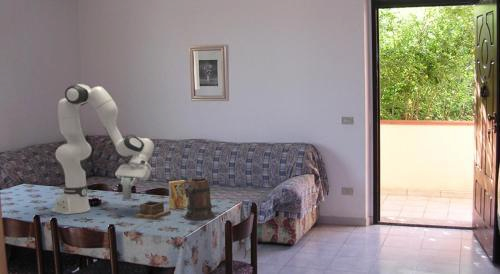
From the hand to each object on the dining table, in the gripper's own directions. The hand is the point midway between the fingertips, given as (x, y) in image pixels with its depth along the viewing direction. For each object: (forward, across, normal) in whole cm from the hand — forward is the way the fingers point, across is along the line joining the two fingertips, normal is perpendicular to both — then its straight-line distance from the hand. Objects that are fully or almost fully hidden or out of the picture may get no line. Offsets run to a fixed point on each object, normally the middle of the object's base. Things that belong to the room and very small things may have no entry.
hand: (126, 185), depth 297 cm
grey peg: (+5, 0, +6) cm, 7 cm away
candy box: (-6, +16, +30) cm, 34 cm away
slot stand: (+8, +13, +16) cm, 21 cm away
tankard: (+5, +39, +18) cm, 43 cm away
